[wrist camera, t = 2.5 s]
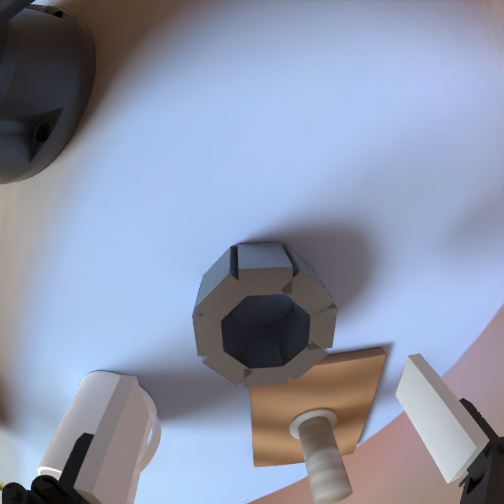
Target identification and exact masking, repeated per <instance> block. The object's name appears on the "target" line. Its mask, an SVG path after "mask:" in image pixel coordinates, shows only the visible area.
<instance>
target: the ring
mask: <svg viewBox="0 0 504 504" xmlns="http://www.w3.org/2000/svg"><path fill="white" fill-rule="evenodd" d="M277 294H286V295H287V296H288V297H290V298H291V299H292V300H293V301H294V309H293V310H292V311H291V312H290V313H289V314H287V315H286V316H285V317H284V318H283V319H282V320H281V321H280V322H279V323H278V324H276V325H275V326H274V327H261V328H245V327H244V326H243V325H242V324H240V323H239V322H238V321H236V320H235V319H234V318H232V317H231V316H230V315H229V314H228V313H230V312H231V311H232V310H233V309H234V308H235V307H236V306H237V305H238V304H239V303H240V302H241V301H242V300H243V299H244V298H245V297H246V296H258V295H277ZM336 314H337V307H336V305H335V304H334V299H333V298H332V296H331V295H330V293H329V292H328V290H327V289H326V287H325V286H324V284H323V283H322V282H321V280H320V279H319V277H318V276H317V274H316V273H315V272H314V270H313V269H312V268H311V267H310V266H309V265H308V264H307V263H305V262H304V261H303V260H302V259H301V258H300V257H299V256H298V255H297V254H296V253H295V252H294V251H293V250H292V249H291V248H290V247H289V246H288V245H286V246H285V247H284V248H283V247H282V246H281V244H280V242H265V243H240V244H238V253H237V252H236V251H235V250H234V249H233V248H231V247H230V248H229V249H228V250H227V251H226V252H225V253H224V254H223V255H222V256H221V257H220V258H219V260H218V261H217V262H216V263H215V264H214V265H213V266H212V267H211V268H210V269H209V270H208V271H207V272H206V273H205V274H204V275H203V279H202V282H201V285H200V288H199V292H198V296H197V300H196V304H195V307H194V311H193V315H192V318H193V325H194V332H195V339H196V346H197V352H198V356H203V361H202V362H203V363H204V364H205V365H207V366H208V367H210V368H211V369H213V370H214V371H216V372H217V373H219V374H221V375H222V376H224V377H225V378H227V379H228V380H230V381H231V382H233V383H235V384H236V385H238V384H239V383H240V382H241V381H243V380H244V385H245V387H250V386H266V385H279V384H288V376H289V377H290V378H292V379H293V380H295V381H296V380H297V379H298V378H300V377H301V376H302V375H304V374H305V373H306V372H307V371H309V370H310V369H311V368H312V367H313V366H315V365H316V364H317V363H318V362H320V361H321V360H322V359H323V358H324V357H326V356H327V355H328V352H327V350H326V348H332V346H333V338H334V330H335V322H336Z"/></svg>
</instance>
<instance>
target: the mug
mask: <svg viewBox="0 0 504 504" xmlns="http://www.w3.org/2000/svg"><path fill="white" fill-rule="evenodd" d="M120 377H121V375H118V374H115V373H112V372H106V371H95V372H91V373H89V374H87V375H85V376H84V377H83V378H82V380H81V382H80V385H79V389H78V391H77V393H76V395H75V397H74V399H73V401H72V403H71V404H70V406H69V408H68V410H67V412H66V414H65V415H64V417H63V419H62V421H61V423H60V425H59V427H58V429H57V431H56V433H55V434H54V436H53V438H52V440H51V442H50V444H49V446H48V448H47V450H46V453H45V455H44V457H43V459H42V461H41V463H40V465H39V467H38V473H39V475H50V476H53V477H54V478H56V479H57V480H58V481H59V478H60V476H61V474H62V471H63V469H64V467H65V464H66V462H67V460H68V458H69V455H70V453H71V451H72V450H73V446H74V444H75V442H76V440H77V439H78V438H79V437H80V436H81V435H82V434H83V433H84V432H85V433H89V434H94V435H95V433H96V430H97V428H98V426H99V423H100V421H101V419H102V417H103V414H104V412H105V410H106V408H107V405H108V403H109V401H110V399H111V397H112V394H113V392H114V390H115V388H116V386H117V384H118V382H119V380H120ZM140 389H141V392H142V395H143V397H144V400H145V403H146V406H147V409H148V412H149V414H150V415H149V419H148V422H147V426H146V429H145V433H144V436H143V440H142V443H141V447H140V451H139V454H138V458H137V462H136V466H135V469H134V473H133V477H132V481H131V485H130V489H129V493H128V497H127V502H126V504H134V499H135V495H136V490H137V485H138V481H139V476H140V472H141V471H142V470H143V469H144V468H145V467H146V466H147V465H148V464H149V462H150V461H151V459H152V458H153V456H154V454H155V452H156V450H157V448H158V445H159V442H160V438H161V425H160V422H159V419H158V418H157V408H156V405H155V403H154V401H153V399H152V398H151V397H150V395H149V394H148V393H147V392H146V391H145V390H144V389H143V388H142V387H140ZM151 428H152V434H151V438H150V441H149V443H148V439H149V435H150V431H151ZM147 443H148V445H147Z"/></svg>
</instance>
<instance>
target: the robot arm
mask: <svg viewBox="0 0 504 504" xmlns="http://www.w3.org/2000/svg"><path fill="white" fill-rule="evenodd" d="M34 1H35V0H0V184H7V183H12V182H17V181H22V180H25V179H28V178H30V177H32V176H34V175H36V174H37V173H39V172H40V171H41V170H43V169H44V168H45V167H46V166H48V165H49V164H50V163H51V162H52V161H53V160H54V159H55V158H56V156H57V155H58V154H59V153H60V152H61V150H62V149H63V148H64V146H65V145H66V144H67V142H68V141H69V139H70V138H71V136H72V134H73V132H74V131H75V129H76V127H77V125H78V123H79V121H80V119H81V117H82V115H83V112H84V110H85V107H86V105H87V102H88V99H89V96H90V92H91V88H92V84H93V79H94V72H95V49H94V44H93V40H92V37H91V35H90V33H89V31H88V29H87V28H86V26H85V25H84V24H83V23H82V22H81V21H79V20H78V19H77V18H76V17H74V16H73V15H72V14H71V13H69V12H67V11H66V10H63V9H61V8H58V7H53V6H44V5H35V4H31V3H32V2H34ZM395 395H396V397H397V399H398V400H399V402H400V404H401V405H402V407H403V408H404V410H405V412H406V413H407V415H408V416H409V418H410V420H411V422H412V423H413V425H414V426H415V428H416V430H417V432H418V433H419V435H420V437H421V438H422V440H423V442H424V443H425V445H426V447H427V448H428V450H429V452H430V454H431V455H432V457H433V459H434V461H435V462H436V464H437V466H438V468H439V469H440V471H441V473H442V475H443V476H444V478H445V480H446V482H447V483H450V482H452V481H454V480H456V479H457V478H459V477H461V476H462V475H463V473H464V472H465V471H466V470H467V471H468V473H469V474H468V475H467V476H466V477H465V478H464V479H463V481H462V482H461V483H460V485H459V487H461V486H462V485H463V484H464V483H465V485H464V489H463V493H462V497H461V501H460V504H504V437H498V435H497V434H496V433H495V432H494V431H493V429H492V428H491V427H490V425H489V424H488V423H487V422H486V420H485V419H484V418H483V417H482V415H481V414H480V413H479V412H477V409H476V408H475V407H474V406H473V404H472V403H470V402H469V401H467V400H466V399H464V398H463V399H461V400H458V399H457V397H456V396H455V395H454V394H453V393H452V391H451V390H450V389H449V388H448V386H447V385H446V384H445V383H444V382H443V380H442V379H441V378H440V377H439V375H438V374H437V373H436V372H435V371H434V370H433V368H432V367H431V366H430V365H429V364H428V362H427V361H426V360H425V359H424V358H423V357H422V356H421V354H420V353H419V354H415V355H410V356H408V357H407V360H406V364H405V367H404V370H403V373H402V377H401V380H400V383H399V386H398V389H397V391H396V394H395ZM149 415H150V414H149V412H148V409H147V406H146V403H145V400H144V397H143V395H142V392H141V389H140V386H139V383H138V379H137V376H131V375H121V377H120V380H119V382H118V384H117V386H116V388H115V390H114V392H113V394H112V397H111V399H110V401H109V403H108V405H107V408H106V410H105V412H104V414H103V417H102V419H101V421H100V423H99V426H98V428H97V430H96V433H95V435H94V434H89V433H85V432H84V433H83V434H82V435H81V436H80V437H79V438H78V439H77V440H76V442H75V444H74V446H73V450H72V451H71V453H70V455H69V458H68V460H67V462H66V464H65V467H64V469H63V471H62V474H61V476H60V478H59V481H58V480H57V479H56V478H54V477H53V476H50V475H40V476H38V477H36V478H35V479H34V480H33V482H32V485H31V490H26V489H25V488H24V487H23V486H22V485H20V484H19V483H15V482H12V483H9V484H7V485H5V487H4V488H3V491H2V504H126V502H127V497H128V493H129V489H130V485H131V481H132V477H133V473H134V469H135V466H136V462H137V458H138V454H139V451H140V447H141V443H142V440H143V436H144V433H145V429H146V426H147V422H148V419H149Z"/></svg>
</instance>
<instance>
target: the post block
mask: <svg viewBox="0 0 504 504" xmlns="http://www.w3.org/2000/svg"><path fill="white" fill-rule="evenodd" d="M385 357H386V354H385V352H384V351H383V349H382V348H381V347H379V348H373V349H367V350H360V351H354V352H347V353H340V354H332V355H327V356H326V357H324V358H323V359H322V360H321V361H320V362H318V363H317V364H316V365H315V366H313V367H312V368H311V369H310V370H309V371H307V372H306V373H305V374H304V375H302V376H301V377H300V378H298V379H297V380H296V381H295V380H293V379H292V378H290V377H289V376H288V384H279V385H266V386H250V400H251V421H252V442H253V461H254V467H266V466H277V465H287V464H295V463H303V462H305V464H306V468H307V473H308V477H309V482H310V486H311V490H312V494H313V499H314V503H315V504H331V503H335V502H338V501H341V500H343V499H345V498H347V497H348V496H350V495H351V494H352V492H353V491H352V488H351V485H350V482H349V478H348V475H347V473H346V469H345V466H344V463H343V460H342V457H341V456H343V455H348V454H352V453H354V450H355V448H356V445H357V443H358V440H359V438H360V435H361V432H362V430H363V427H364V424H365V422H366V419H367V416H368V413H369V410H370V407H371V404H372V401H373V398H374V395H375V392H376V389H377V385H378V382H379V379H380V375H381V372H382V368H383V364H384V361H385Z"/></svg>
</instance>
